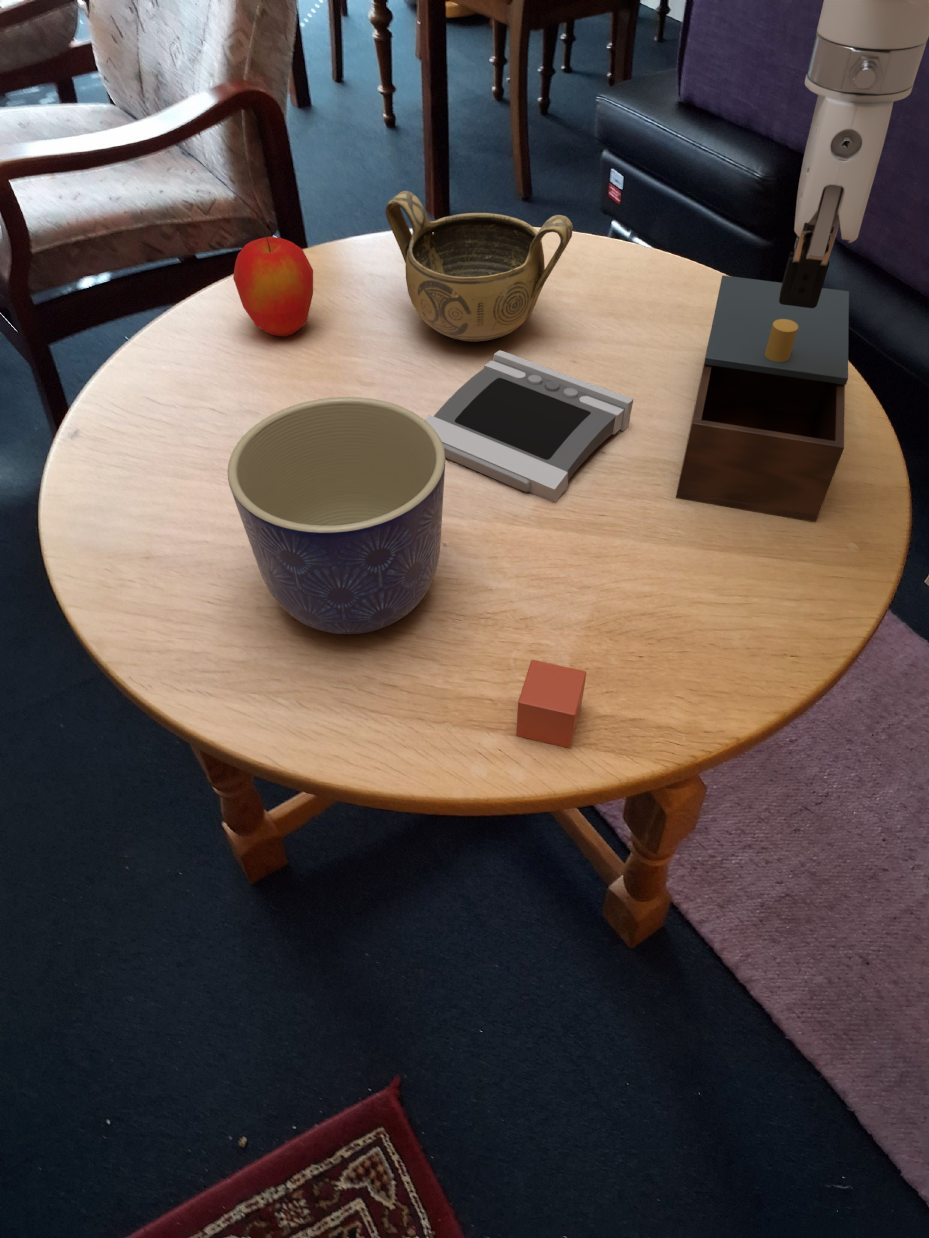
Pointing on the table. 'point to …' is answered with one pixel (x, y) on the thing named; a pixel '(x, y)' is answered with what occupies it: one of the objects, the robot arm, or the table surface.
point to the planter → (342, 509)
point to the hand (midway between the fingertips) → (797, 301)
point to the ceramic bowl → (473, 267)
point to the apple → (274, 284)
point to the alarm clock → (528, 424)
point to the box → (763, 442)
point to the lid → (779, 332)
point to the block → (550, 703)
